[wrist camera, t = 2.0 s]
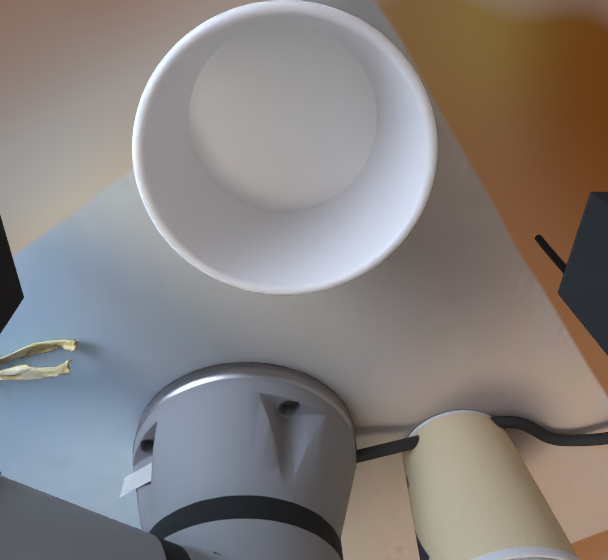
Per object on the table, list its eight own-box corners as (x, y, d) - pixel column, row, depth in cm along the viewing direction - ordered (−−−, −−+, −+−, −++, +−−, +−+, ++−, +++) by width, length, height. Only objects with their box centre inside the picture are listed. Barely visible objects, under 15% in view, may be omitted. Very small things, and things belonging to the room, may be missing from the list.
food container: (221, -73, 23) (206, -76, 17) (453, 69, 26) (501, 105, 21) (125, 172, 28) (89, 230, 23) (328, 263, 32) (340, 333, 26)
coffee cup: (365, 450, 41) (397, 623, 31) (467, 379, 38) (541, 546, 27) (442, 502, 45) (493, 671, 34) (541, 442, 41) (630, 609, 31)
